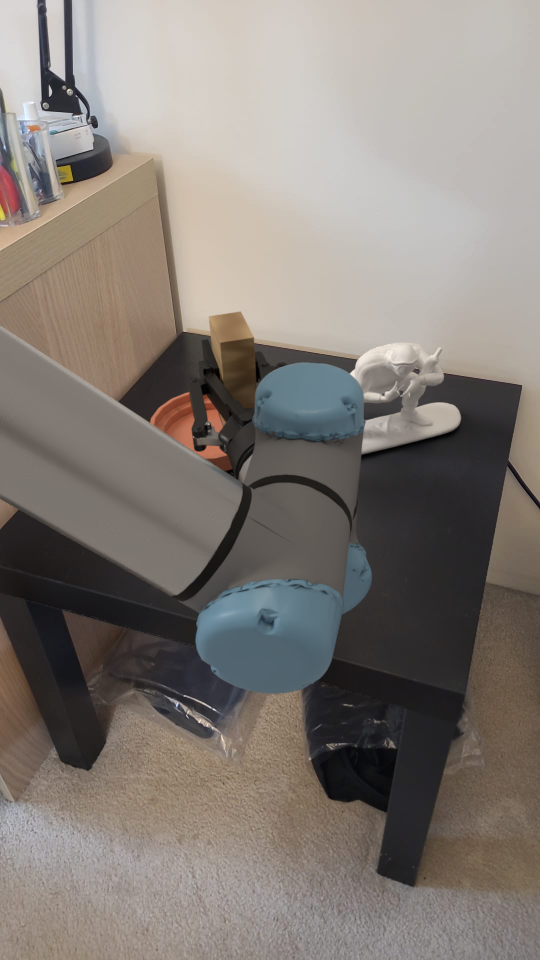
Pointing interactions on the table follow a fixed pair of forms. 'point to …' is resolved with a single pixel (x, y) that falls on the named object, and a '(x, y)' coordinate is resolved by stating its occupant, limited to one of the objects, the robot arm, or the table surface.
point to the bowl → (190, 426)
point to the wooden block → (234, 356)
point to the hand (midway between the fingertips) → (223, 347)
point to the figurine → (391, 374)
